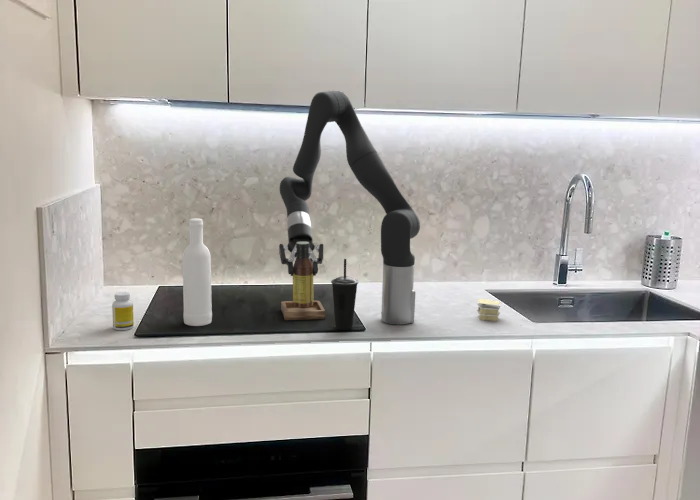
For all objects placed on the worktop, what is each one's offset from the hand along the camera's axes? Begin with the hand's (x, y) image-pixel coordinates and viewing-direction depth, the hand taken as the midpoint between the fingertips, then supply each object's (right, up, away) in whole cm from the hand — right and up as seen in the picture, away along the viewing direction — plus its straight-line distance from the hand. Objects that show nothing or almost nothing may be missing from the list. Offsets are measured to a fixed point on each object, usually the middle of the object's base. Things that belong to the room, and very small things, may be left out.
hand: (303, 274), depth 188 cm
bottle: (-30, -14, -7) cm, 34 cm away
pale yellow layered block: (+56, -14, +5) cm, 58 cm away
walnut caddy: (-1, -12, +4) cm, 13 cm away
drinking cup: (+12, -15, -9) cm, 21 cm away
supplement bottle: (-49, -15, -14) cm, 53 cm away
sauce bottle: (0, -10, +3) cm, 11 cm away
